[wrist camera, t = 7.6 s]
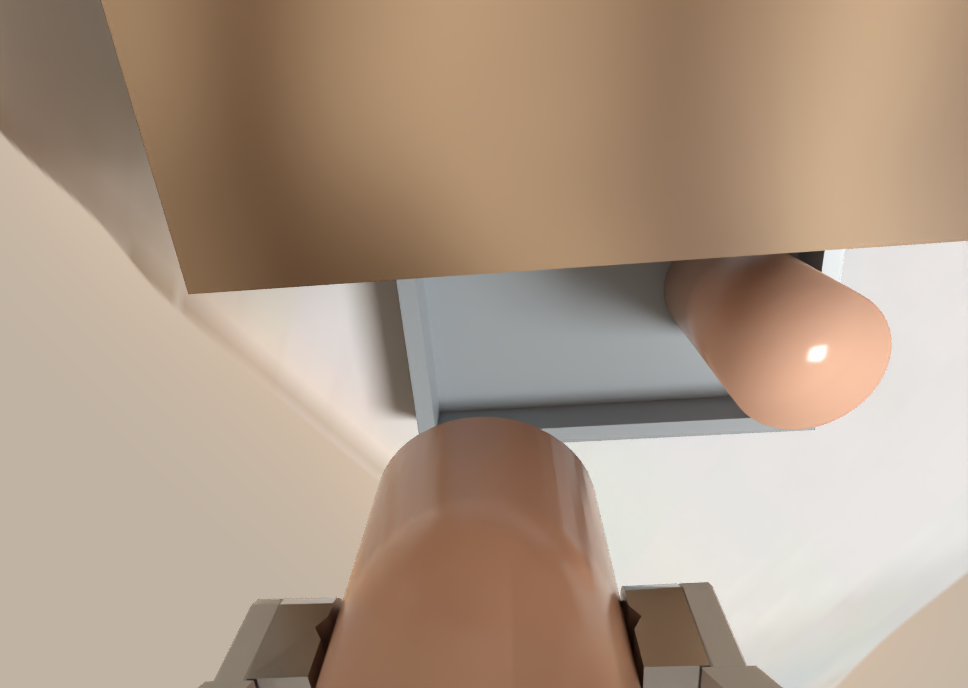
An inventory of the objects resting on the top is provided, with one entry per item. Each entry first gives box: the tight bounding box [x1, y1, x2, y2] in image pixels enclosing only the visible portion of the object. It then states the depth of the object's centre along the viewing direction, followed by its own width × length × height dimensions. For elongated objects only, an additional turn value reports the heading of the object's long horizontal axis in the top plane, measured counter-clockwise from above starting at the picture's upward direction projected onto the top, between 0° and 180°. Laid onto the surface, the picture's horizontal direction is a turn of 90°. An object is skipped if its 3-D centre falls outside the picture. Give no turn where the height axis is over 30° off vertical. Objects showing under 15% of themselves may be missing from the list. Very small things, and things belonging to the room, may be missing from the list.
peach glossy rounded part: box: [664, 253, 891, 430], centre depth 22 cm, size 5×5×8 cm
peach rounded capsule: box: [315, 417, 641, 688], centre depth 9 cm, size 5×5×8 cm
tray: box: [396, 249, 846, 442], centre depth 25 cm, size 18×15×3 cm
